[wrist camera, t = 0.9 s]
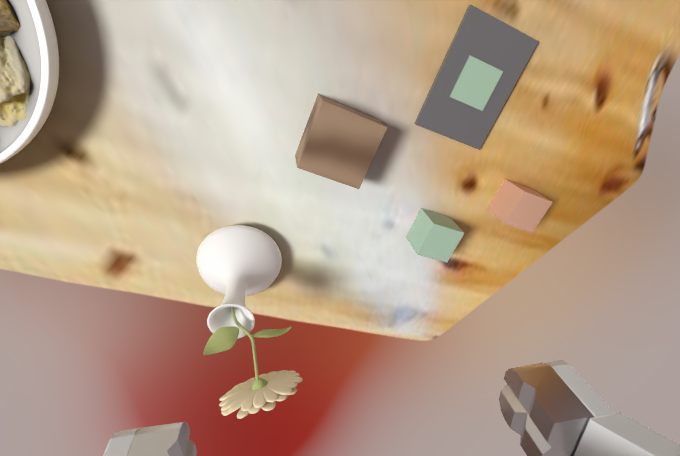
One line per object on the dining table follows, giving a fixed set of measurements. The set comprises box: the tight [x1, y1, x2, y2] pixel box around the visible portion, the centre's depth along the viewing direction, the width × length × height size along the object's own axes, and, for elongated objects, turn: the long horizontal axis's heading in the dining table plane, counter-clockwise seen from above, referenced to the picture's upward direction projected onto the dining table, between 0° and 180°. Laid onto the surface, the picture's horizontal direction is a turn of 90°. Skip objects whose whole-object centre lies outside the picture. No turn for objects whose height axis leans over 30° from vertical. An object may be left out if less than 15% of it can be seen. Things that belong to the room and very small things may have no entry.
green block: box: [406, 208, 464, 262], centre depth 53 cm, size 5×5×5 cm
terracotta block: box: [487, 179, 553, 233], centre depth 53 cm, size 5×5×5 cm
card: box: [415, 5, 539, 150], centre depth 46 cm, size 14×10×1 cm
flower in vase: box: [196, 225, 302, 419], centre depth 42 cm, size 13×11×25 cm
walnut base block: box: [295, 94, 387, 189], centre depth 45 cm, size 8×8×5 cm
